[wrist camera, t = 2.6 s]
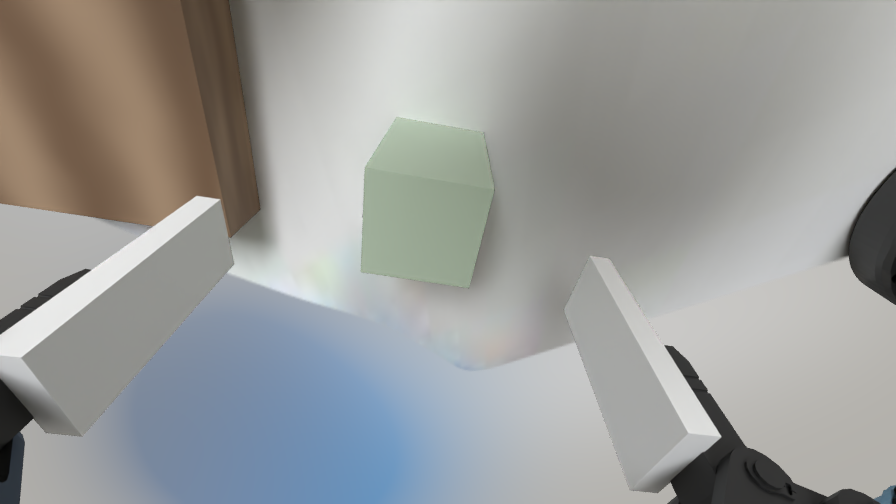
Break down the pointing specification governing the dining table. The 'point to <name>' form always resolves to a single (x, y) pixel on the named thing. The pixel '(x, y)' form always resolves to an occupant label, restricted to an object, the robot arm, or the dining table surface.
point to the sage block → (426, 203)
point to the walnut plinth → (123, 109)
